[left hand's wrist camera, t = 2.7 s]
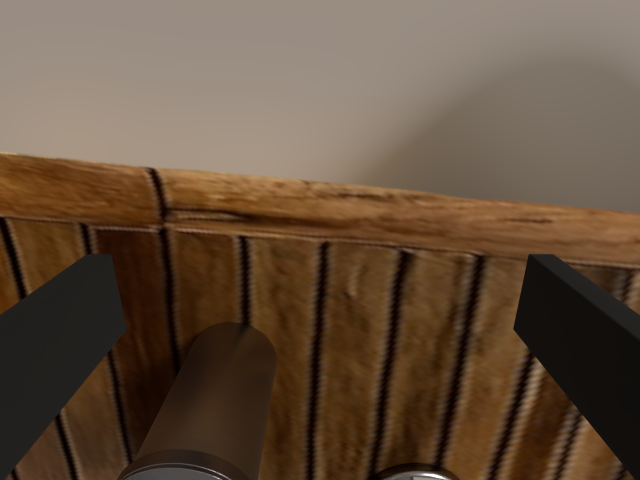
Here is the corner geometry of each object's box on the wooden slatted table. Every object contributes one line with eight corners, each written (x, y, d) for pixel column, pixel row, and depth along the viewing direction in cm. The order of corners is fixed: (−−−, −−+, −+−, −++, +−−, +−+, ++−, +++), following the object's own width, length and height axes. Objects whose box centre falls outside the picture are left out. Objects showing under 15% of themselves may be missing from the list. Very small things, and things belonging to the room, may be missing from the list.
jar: (197, 313, 45) (118, 456, 28) (284, 332, 46) (263, 482, 28) (185, 383, 49) (110, 548, 31) (267, 399, 50) (238, 569, 32)
